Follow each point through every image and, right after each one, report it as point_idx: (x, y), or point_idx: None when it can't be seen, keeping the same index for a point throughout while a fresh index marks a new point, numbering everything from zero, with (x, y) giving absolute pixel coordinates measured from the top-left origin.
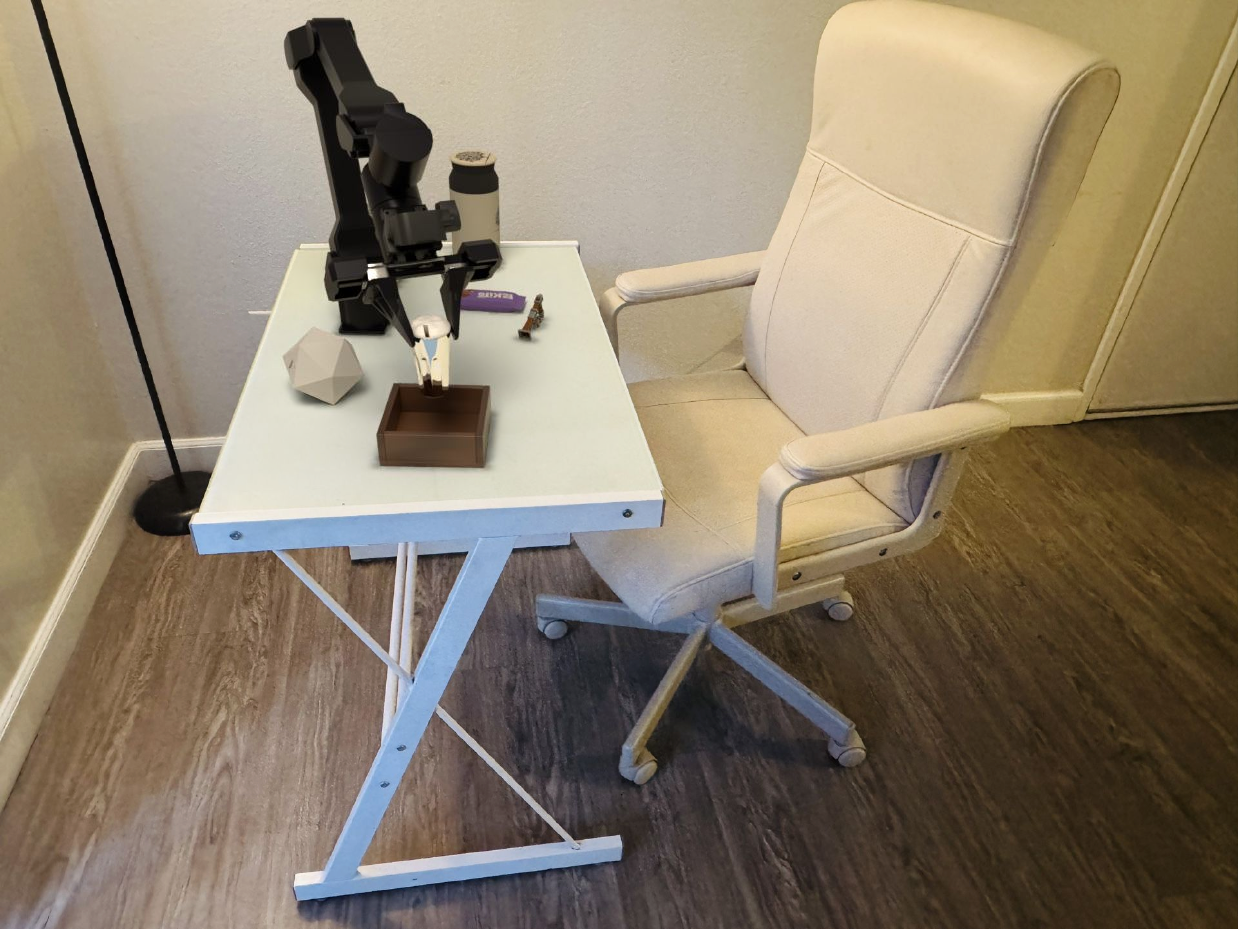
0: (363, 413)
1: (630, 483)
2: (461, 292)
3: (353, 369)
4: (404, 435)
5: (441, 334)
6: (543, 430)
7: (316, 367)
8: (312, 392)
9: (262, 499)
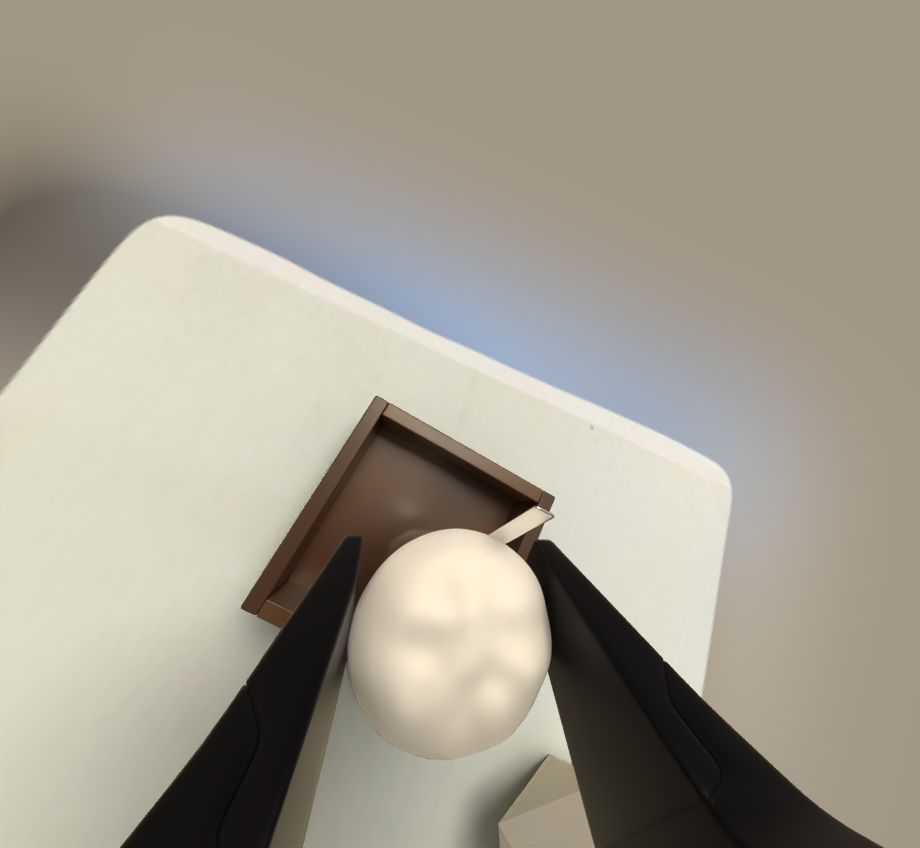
0: None
1: (167, 249)
2: (135, 838)
3: (533, 833)
4: (509, 471)
5: (433, 534)
6: (200, 475)
7: None
8: None
9: (679, 488)
